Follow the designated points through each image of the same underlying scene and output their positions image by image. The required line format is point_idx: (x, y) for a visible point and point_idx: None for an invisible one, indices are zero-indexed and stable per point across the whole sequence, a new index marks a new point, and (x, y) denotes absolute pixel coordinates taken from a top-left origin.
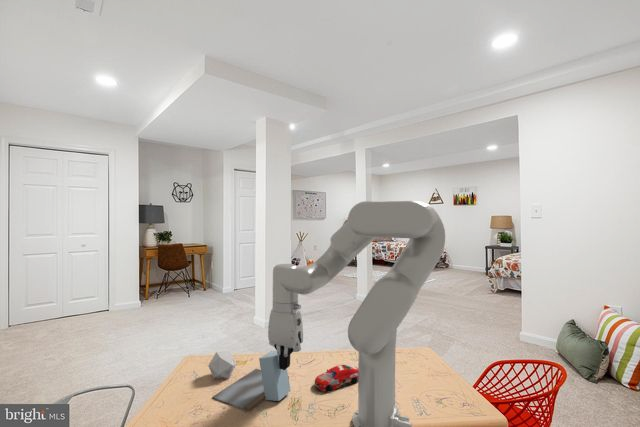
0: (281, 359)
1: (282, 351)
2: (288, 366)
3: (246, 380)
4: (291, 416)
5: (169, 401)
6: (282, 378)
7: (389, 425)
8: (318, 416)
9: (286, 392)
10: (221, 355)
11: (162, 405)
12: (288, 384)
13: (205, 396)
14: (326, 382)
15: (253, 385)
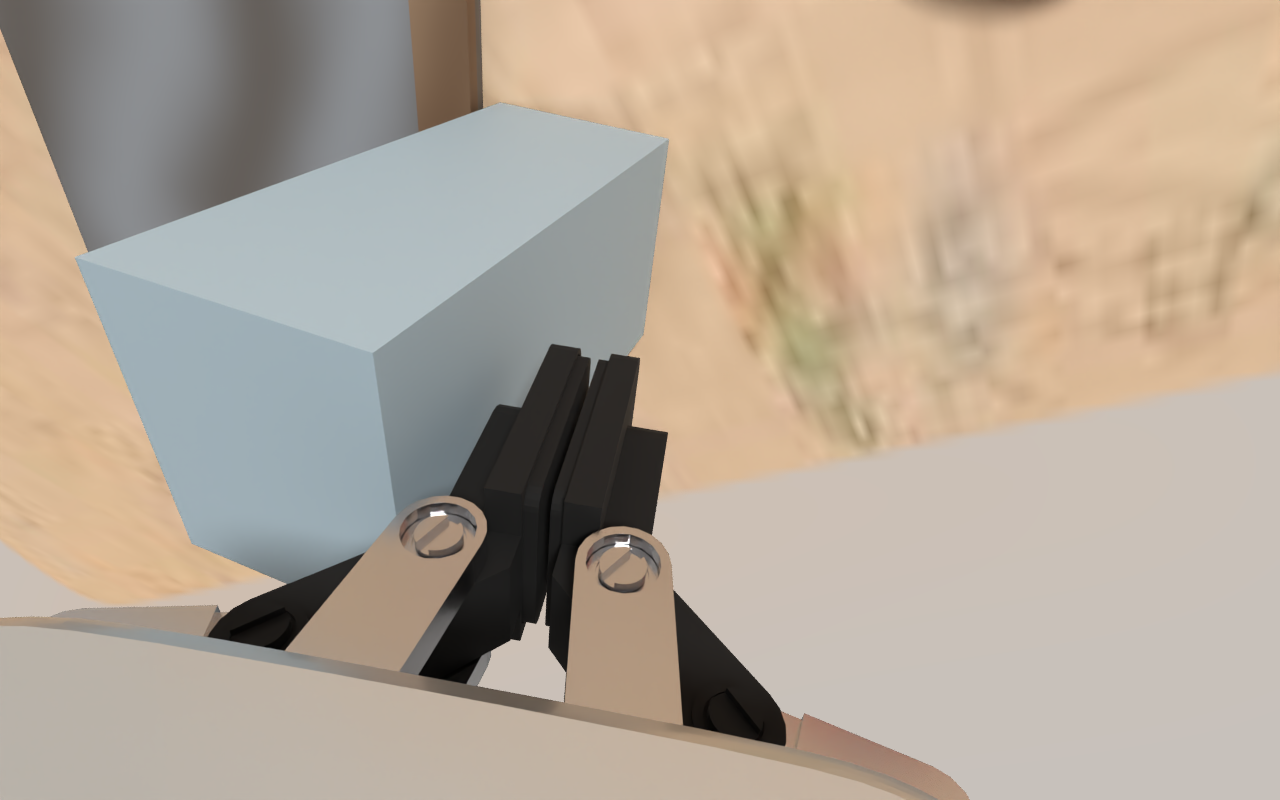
0: (546, 587)
1: (483, 635)
2: (635, 384)
3: (97, 75)
4: (813, 418)
5: (4, 478)
6: (585, 312)
7: None
8: (1048, 365)
9: (653, 221)
10: None
11: (24, 512)
12: (639, 183)
13: (96, 385)
14: None
15: (240, 143)
